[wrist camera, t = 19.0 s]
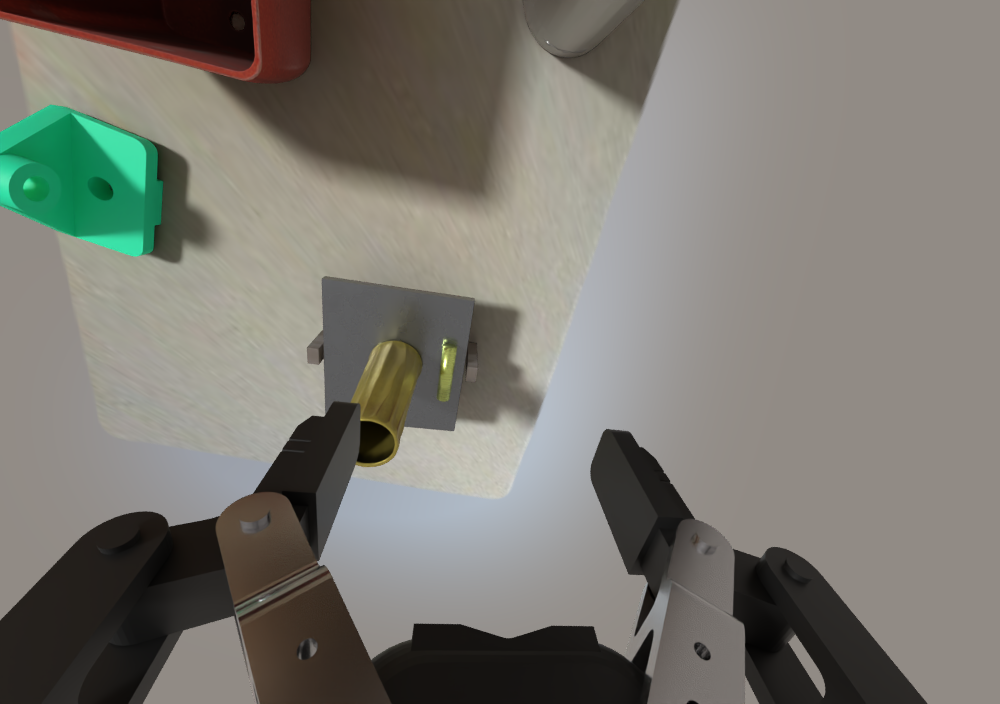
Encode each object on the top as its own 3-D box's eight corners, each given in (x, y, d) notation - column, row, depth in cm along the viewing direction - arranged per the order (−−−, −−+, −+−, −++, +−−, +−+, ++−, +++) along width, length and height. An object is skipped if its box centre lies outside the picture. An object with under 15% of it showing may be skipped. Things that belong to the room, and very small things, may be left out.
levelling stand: (327, 278, 45) (304, 296, 39) (483, 301, 48) (486, 321, 42) (329, 377, 51) (309, 407, 45) (468, 393, 54) (468, 422, 47)
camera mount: (160, 254, 42) (75, 278, 33) (81, 227, 41) (-32, 244, 31) (166, 144, 38) (70, 137, 29) (77, 108, 36) (-56, 88, 27)
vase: (358, 355, 43) (311, 434, 30) (402, 330, 42) (374, 401, 29) (389, 393, 45) (359, 482, 32) (432, 371, 44) (418, 453, 32)
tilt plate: (324, 276, 39) (316, 283, 37) (474, 298, 42) (474, 306, 39) (328, 414, 47) (321, 427, 45) (454, 426, 49) (453, 439, 47)
